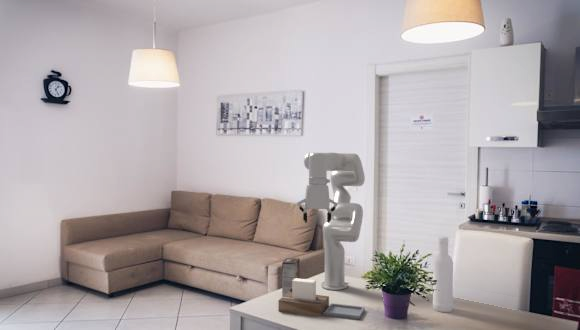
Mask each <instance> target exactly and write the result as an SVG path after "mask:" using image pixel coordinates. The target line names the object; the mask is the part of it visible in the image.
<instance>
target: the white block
mask: <svg viewBox="0 0 580 330" xmlns="http://www.w3.org/2000/svg"><path fill="white" fill-rule="evenodd" d="M316 295H317V280H316V279H310V278H309V279H308V278H300V279H299V278H295V279H294V280H292V298H297V299H306V300H314V301H316Z"/></svg>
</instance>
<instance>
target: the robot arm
mask: <svg viewBox="0 0 580 330" xmlns="http://www.w3.org/2000/svg"><path fill="white" fill-rule="evenodd" d="M303 165H304V167H305V168H306V169H307V171H308V184H307V185H306V187H305V188H306V189H305V195H304V196H305V198H303V199H301V200H300V201H298V202H296V204H297V207H298V209H299V210H300V211H301V212H302V214H303V215H302V217H303V221H304V223H307V224H308V213H307V212H308V211H309V210H310V209H311V210H326V211H327V213H326V218H327V219H326V220H327V221H325V222H324V224H323V226H322V235H323V243H324V281H322V282H321V283H320V285H321V288H323V289H326V290H328V291H330V290H331V291H340V290H345V289H347V288H348V286H349V285H348V283H347V282H345V276H346V275H345V270H346V269H345V264H346V263H345V260H346V259H345V257H346V256H345V253H346V252H345V247H344V246H343V244H342V243H341V242H343V243H344V242H345V243H346V242H348V243H355V242H358V240H359V238H360V234H361V228H362V223H363V217H364V210H363V207H362V205H361V204H359V203H356V202H351V199H352V196H351V194H350V192H349V191H348V190H347V189H346V188H345V187H361V186H363V185H364V184H365V181H366V180H365V171H364V167H363V164H362V160H361V158H360V157H359V155H358V154H357V153H346V152H345V153H341V152H339V153H337V152H307V154H305V155H304V158H303ZM328 171H329V172H331V173H330V179H329V178H327V172H328ZM328 183H331V188H332V193H333V198H332V199H331V198H330V190H329V185H328ZM304 203H305V204H304ZM330 203H331V207H330ZM302 204H304V205H305V206H304V207H303V206H302Z"/></svg>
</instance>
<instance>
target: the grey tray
mask: <svg viewBox="0 0 580 330" xmlns="http://www.w3.org/2000/svg"><path fill="white" fill-rule="evenodd" d="M365 309H366V307H365V306H359V305H351V304H349V305H348V304H340V303H334V302H333V303H332V302H331V304H330V303H329V307H328V308H327V309H326V311H325V312H324V313H323V314H324V315H325V316H326V317H333V318H344V319H351V320H357V321H358V320H359V321H360V319H361V318H362V316H363V315H364V313H365V311H366V310H365Z"/></svg>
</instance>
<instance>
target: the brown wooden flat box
mask: <svg viewBox="0 0 580 330" xmlns="http://www.w3.org/2000/svg"><path fill="white" fill-rule="evenodd" d="M329 306H330V296H329V295H322V294H321V295H320V294H316V301H314V300H306V299H297V298H292V292H288V293H287V294H285V295H284V296H283V297H281V298H279V299H278V312H281V313H282V312H283V313H289V314H290V313H291V314H298V315H299V314H300V315H306V316H307V315H308V316H315V317H322V316H323V315H322V314H324V312H325V311H326V309H327V308H328V307H329Z"/></svg>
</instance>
